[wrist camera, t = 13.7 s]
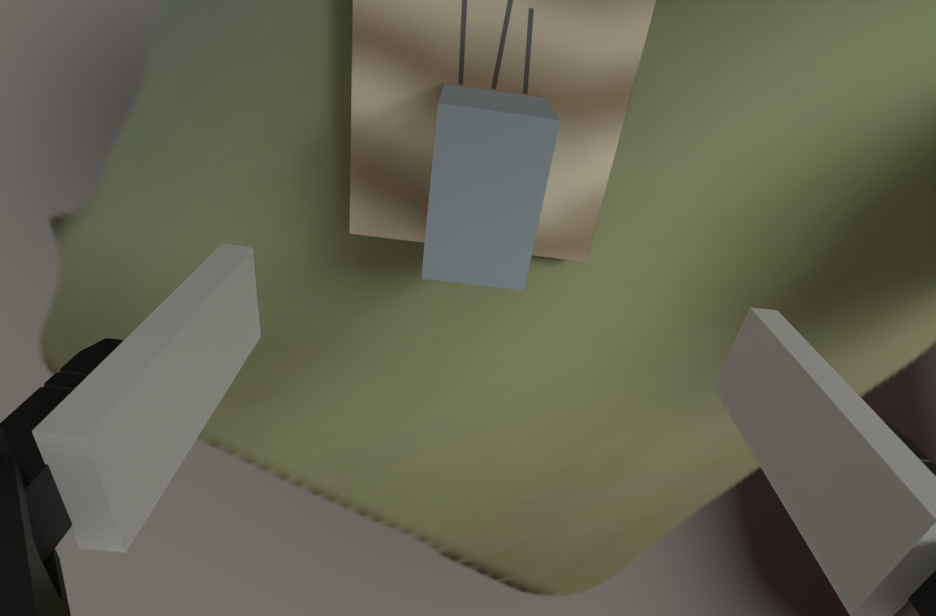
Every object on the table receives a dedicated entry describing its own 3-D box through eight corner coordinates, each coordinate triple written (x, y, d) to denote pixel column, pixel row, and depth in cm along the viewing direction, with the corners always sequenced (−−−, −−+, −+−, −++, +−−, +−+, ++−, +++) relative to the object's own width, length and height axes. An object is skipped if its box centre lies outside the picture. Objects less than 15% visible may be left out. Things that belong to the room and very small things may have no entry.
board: (362, -199, 22) (355, -211, 21) (684, -144, 23) (697, -153, 22) (354, 224, 32) (349, 233, 30) (581, 251, 33) (586, 261, 31)
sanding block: (444, 82, 26) (438, 103, 21) (542, 96, 27) (560, 120, 21) (429, 230, 30) (420, 278, 25) (514, 241, 31) (524, 291, 25)
